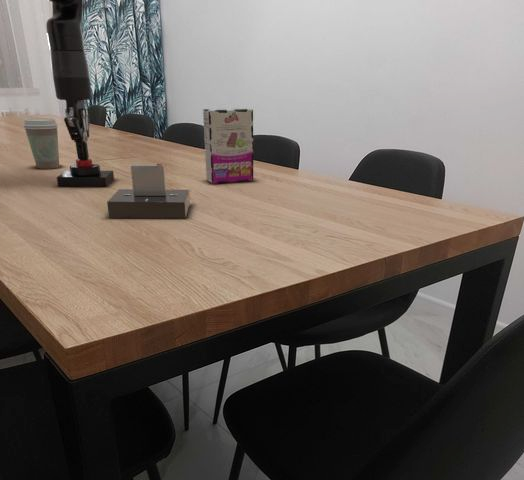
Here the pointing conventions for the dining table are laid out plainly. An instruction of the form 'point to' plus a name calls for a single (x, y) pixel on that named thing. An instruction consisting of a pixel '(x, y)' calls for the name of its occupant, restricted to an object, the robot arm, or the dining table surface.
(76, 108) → the robot arm
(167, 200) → the dark grey base plate
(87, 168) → the push button base
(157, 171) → the knob
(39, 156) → the coffee cup
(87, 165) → the power button
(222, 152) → the candy bar box
